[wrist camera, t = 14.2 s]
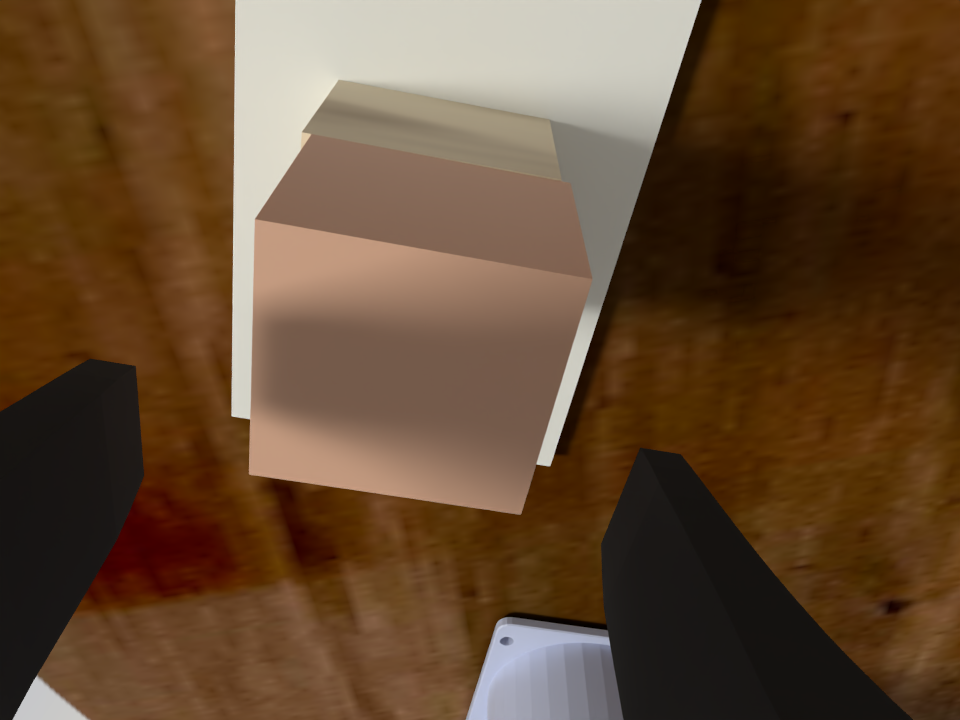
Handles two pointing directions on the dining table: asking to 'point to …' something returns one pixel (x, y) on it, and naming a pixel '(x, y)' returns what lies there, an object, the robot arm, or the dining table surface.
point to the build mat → (470, 80)
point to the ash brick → (436, 129)
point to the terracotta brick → (411, 323)
